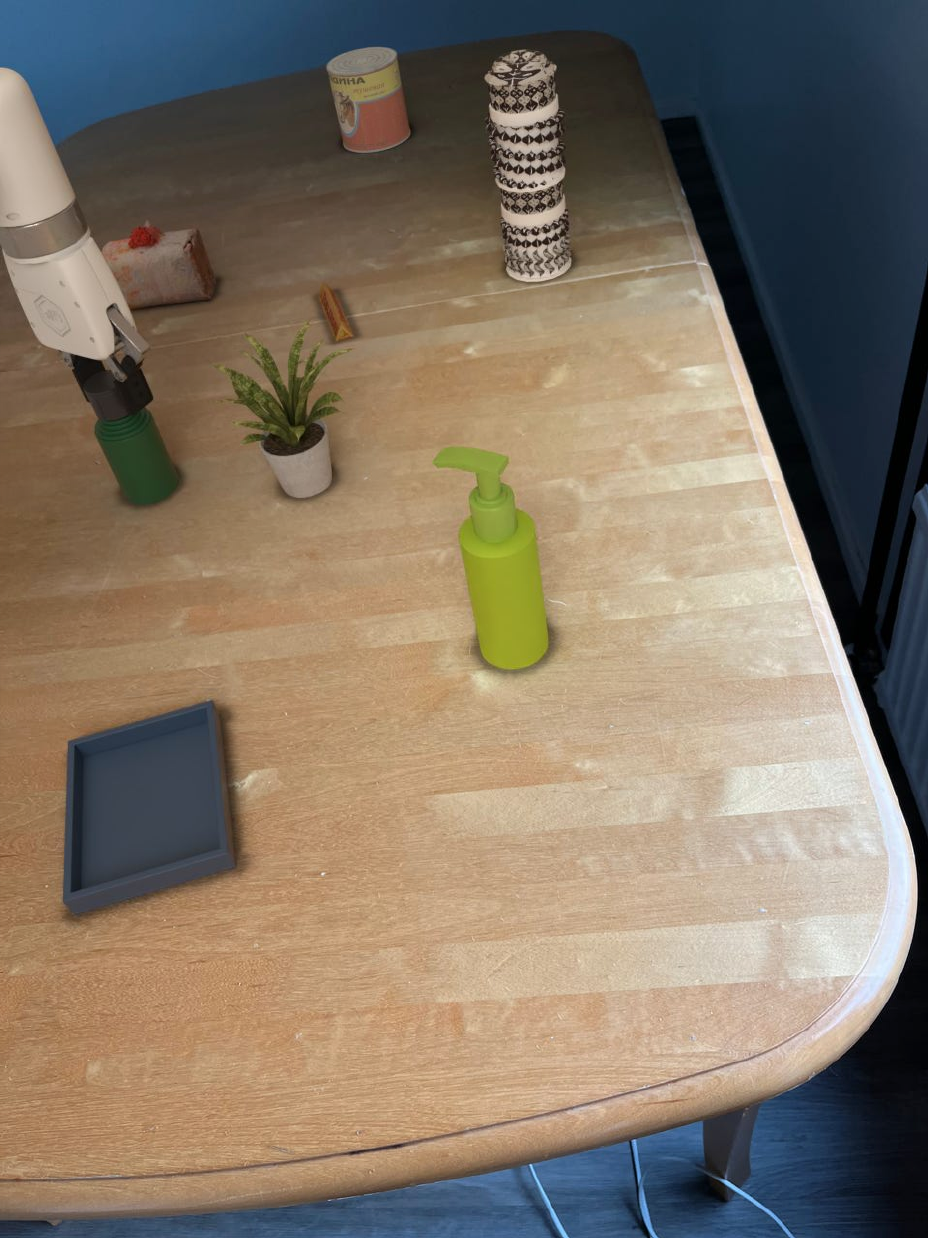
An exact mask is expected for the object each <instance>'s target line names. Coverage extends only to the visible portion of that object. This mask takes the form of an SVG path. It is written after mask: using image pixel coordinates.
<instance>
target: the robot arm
mask: <svg viewBox="0 0 928 1238" xmlns="http://www.w3.org/2000/svg"><path fill="white" fill-rule="evenodd" d="M0 246H1V250H2V255H3V259H4V262H5V266H6V269H7V272H8V275H9V278H10V280H11V283H12V285H13V288H14V291H15V293H16V296H17V298H18V300H19V303H20V305H21V307H22V310H23V312H24V314H25V317H26V318H27V319H26V320H27V321H28V322H29V325H30V327H31V329H32V332H33V333H34V335H35V338H36V340H38V341H39V342H40V343H41V344H42V345H43V346H46V347H47V348H50V349H54V350H57V351H58V352H60V354H61V356H62V360H63V362H64V364H65V365H66V366H67V367H68V368H70V369H71V372H72V374H73V376H74V378H75V380H76V382H77V385H78V386H79V388H80V390H81V392H82V395H83V396H84V398H85V401H86V402H87V403H89V404H91V403H90V401H89V399H88V397H87V395H86V393H85V391H84V388H83V386H84V383H85V381H86V380H87V379H88V378H89V377H91V376H92V375H94V374H96V373H98V372H101V371H105V370H107V369H106V367H105V365H104V363H103V361H104V362H105V364H106V365H107V367H108V368H109V370H111V371H112V373H113V374H114V376H115V377H116V380H114V381H113V383H114V385H115V387H116V390H117V392H118V394H119V396H120V398H121V401H122V403H123V405H124V407H125V409H126V412H127V413H128V414H129V415H132V416H134V415H136V414H137V413H138V412H139V411H141V410H142V409H143V408H144V407H145V408H147V406H149V404H151V403H152V402H153V401H154V394H153V392H152V390H151V388H150V386H149V383H148V380H147V379H146V376H145V374H144V371H143V368H144V360H145V358H146V357H147V355H148V354H149V353H150V352H151V346H150V344H149V343H148V342H147V340H145V338H144V337H142V336H141V334H140V333H139V332H138V329H137V326H136V322H135V319H134V317H133V313H132V310H130V309H129V306H128V304H127V302H126V300H125V297H124V295H123V293H122V291H121V289H120V287H119V285H118V283H117V281H116V279H115V277H114V275H113V273H112V271H111V269H110V267H109V265H108V264H107V262H106V260H105V258H104V256H103V255H102V253H101V252H102V250H100V248H99V246H98V244H97V243H96V242H95V240H94V238H93V237H91V230H90V227H89V225H88V222H87V219H86V217H85V215H84V212H83V210H82V208H81V205H80V203H79V201H78V198H77V196H76V194H75V191H74V188H73V187H72V184H71V182H70V179H69V177H68V175H67V172H66V170H65V168H64V166H63V163H62V160H61V158H60V156H59V154H58V151H57V149H56V146H55V145H54V142H53V140H52V137H51V135H50V132H49V130H48V128H47V125H46V123H45V120H44V118H43V116H42V113H41V111H40V109H39V106H38V104H37V101H36V99H35V97H34V94H33V92H32V90H31V88H30V85H29V84H28V82H27V81H26V80H25V78H24V77H23V76H22V75H21V74H20V73H19V72H17V71H16V70H13V69H11V68H8V67H0ZM115 339H116V340H115ZM119 351H122V352H123V354H124V355H125V356H123V358H122V359H121V362H119V360H118V359H117V357H116V356H115V354H117V353H118V352H119Z"/></svg>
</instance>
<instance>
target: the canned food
mask: <svg viewBox="0 0 928 1238" xmlns="http://www.w3.org/2000/svg"><path fill="white" fill-rule="evenodd" d="M325 69H326V71H327V75H328V80H329V84H330V88H331V92H332V93H331V94H332V97H333V103H334V106H335V111H336V115H337V120H338V124H339V128H340V133H341V137H342V145H343V147H344V149H345V150H347V151H349V152H352V153H357V154H370V153H377V152H384V151H386V150H389V149H393V148H396V147H397V146H399V145H401V144H403V143H404V142H406V141H407V140H408V139H409V137H410V136H411V134H412V133H411V129H410V124H409V119H408V113H407V107H406V101H405V96H404V89H403V85H402V79H401V74H400V73H401V72H400V67H399V61H398V52H397V51H396V50H395V49H393V48H390V47H385V46H370V47H369V46H368V47H362V48H357V49H352V50H349V51H346V52H344V53H341V54H338V55H337V56H334V57H333V58H331V59H330V60H329V61H328V62H327V63H326V67H325Z"/></svg>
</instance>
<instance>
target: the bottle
mask: <svg viewBox="0 0 928 1238" xmlns="http://www.w3.org/2000/svg"><path fill="white" fill-rule="evenodd" d="M97 418H98V417H97ZM93 434H94V436H95V438H96V440H97V442H98V445H99V446H100V448H101V450H102V453H103V455H104V457H105V459H106V461H107V463H108V465H109V467H110V469H111V471H112V473H113V476H114V478H115V479H116V481H117V484H118V485H119V488H120V489H121V492H122V494H123V496H124V498H125V499H126V500H127V502H129V503H130V504H134V505H139V506H140V505H141V506H143V505H151V504H154V503H155V504H156V503H158V502H160V501H163V500H165V499H166V498H167V497H169V496H170V495H171V494H173V493H174V492H175V491H176V489H177V488H178V486H179V484H180V477H179V474H178V472H177V469H176V467H175V465H174V463H173V461H172V457H171V456H170V454H169V452H168V448H167V446H166V445H165V442H164V439H163V437H162V434H161V433H160V430H159V427H158V425H157V423H156V421H155V418H154V416H153V414H152V412H151V411H150V410H149V409H147V407H144V408H143V409H142V410H141V411H139V412H138V413H137V414H136V415H134V416H132V415H127V416H126V417H123V418H121V419H118V420H114V421H103V420H100V419H99V418H98V419H97V420H96V422H95V424H94V431H93Z"/></svg>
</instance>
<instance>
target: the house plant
mask: <svg viewBox="0 0 928 1238" xmlns="http://www.w3.org/2000/svg"><path fill="white" fill-rule="evenodd" d="M312 320H313V318H311V319H310V320H308V321H307V322H306V323H305V324H304V325H303V326H301V328H300V329H299V331H298V332H297V333H296V335H295V338H294V340H293V341H292V344H291V348H290V351H289V355H288V360H287V372H288V376H287V377H288V382H287V385H288V387H286V385H285V383H284V380H283V378H282V376H281V373H280V371H279V369H278V366H277V364H276V362H275V360H274V358H273V356H272V355H271V353H270V351H269V350H268V348H267V347H265V346H264V344H262V343H261V342H259V341H258V340H257V339H256V338H255V337H254V336H252V335H251V334H249V333H247V332H246V331H245V334H244V335H245V336H246V338H247V340H248V342H249V343H250V344H251V346H252V348H253V349H254V350H255V352H256V353H257V355H258V358H259V359H260V360H261V361H260V360H258V359H257V358H255V357H254V356H252V355H250V354H249V353H247V352H245V351H243V350H239V349H237V348H235V350H236V351H237V352H240V354H242V355H244V356H246V357H247V358H248V359H250V360H251V361H253V362H254V363H255V364H256V365H257V366H258V367H259V368H260V369H261V371H262V373H264V375H265V376H266V378H267V379H268V380H269V382H270V384H271V385H272V387H273V389H274V391H275V393H276V396H277V397H278V400H279V401H278V400H277V399H276V397H275V396H273V395H272V394H271V392H269V391H268V390H266V389H262V387H261V386H260V384H258V382H257V381H255V380H254V378H253V377H251V376H249V375H247V376H246V375H245V374H243V373H242V372H239V371H237V370H234V369H231V368H229V367H227V366H225V365H222V364H214V363H210V365H211V366H212V367H214V368H216V369H217V370H219V371H221V372H222V373H223V374H225V375H227V376H228V377H229V379H230V380H231V385H232V388H233V391H234V393H235V394H236V396H237V398H236V399H233V398H221V399H218V400H217V401H213V403H214V404H215V403H223V402H224V403H225V402H231V403H232V402H233V403H234V404H238V405H243V406H246V407H247V408H248V409H249V410H250V411H251V412H252V413H253V414H254V415H255V416H256V417H258V418H259V419H260V420H261V421H251V420H237V421H232V422H229V423H227V424H229V425H233V426H242V427H245V428H248V429H251V430H258V431H262V432H261V433H249V434H247V435H246V436H245V437H244V438H243V440H242V442H241V443H240V444H239V447H241V446H242V445H247V444H252V443H256V442H258V447H259V451H261V453H262V455H263V456H264V458H265V460H266V462H267V463H268V465H269V467H270V468H271V471H272V472H273V474H274V476H275V477H276V479H277V481H278V483H279V484H280V486H281V488H282V489H283V491H284V492H285V493H286V495H288V496H290V497H292V498H296V499H297V498H298V499H305V498H311V497H313V496H317V495H318V494H320V493H322V492H323V491H325V490H326V489H328V487H329V486H330V485H331V483H332V481H333V470H332V459H331V449H330V439H329V430H328V426H327V424H326V422H325V421H324V420H323V419H324V418H326V417H328V416H330V415H333V414H335V413H342V414H344V412H343V411H342V410H340V409H338V408H336V407H335V406H327V405H329V404H334V403H337V402H342V403H344V404H346V402H345V401H344V400H343V398H342V397H341V396H340V395H339V394H338V393H337V392H334V391H332V392H331V391H329V392H325V393H324V394H323V395H321V396H320V397H319V398H318V399H317V400H316V401H315V403H314V404H313V405H312V407H311V409H310V413H309V414H307V412H308V411H307V410H308V409H307V408H308V398H309V394H310V393H311V391H312V390H313V388H314V386H315V385H316V384H317V383H318V382H319V381H320V379H317V377H318V376H319V374H320V373H321V371H322V370H323V369H324V368H325V367H326V366H327V365H328V364H329V363H330V362H331V361H332V360H333V359H335V358H336V357H338V356H341V355H344V354H346V353H349V352H351V351H354V350H356V348H346V349H341V350H336V351H334V352H332V353H330V354H328V355H327V356H325V357H324V358H323V359H322V360H321V361H320V360H318V361H317V362H316V363H315V364H314V362H315V360H316V357H317V353H318V350H319V348H320V346H321V345H323V342H324V339H323V340H320V341H319V342H318V343H317V344H316V345H315V346H313V348H312V349H311V351H310V353H309V355H308V358H302V359H300V355H301V351H302V348H303V344H304V341H305V335H306V331H307V330H308V328H309V326H310V325H311V322H312ZM299 359H300V360H299ZM304 362H305V363H306V364H305V369H304V376H302V377H301V376H297V375H298V367H299V365H300V364H301V363H304Z"/></svg>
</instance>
